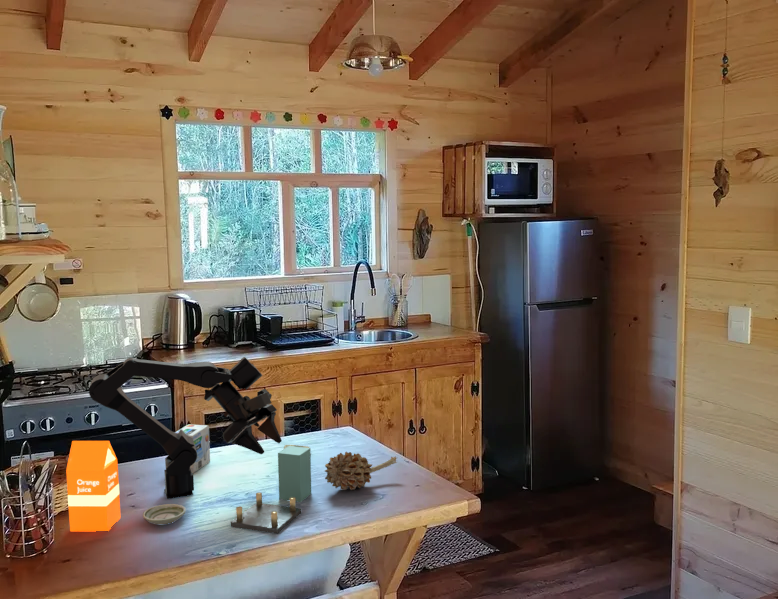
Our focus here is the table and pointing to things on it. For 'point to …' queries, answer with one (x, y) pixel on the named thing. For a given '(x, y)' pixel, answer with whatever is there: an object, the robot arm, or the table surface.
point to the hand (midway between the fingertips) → (271, 447)
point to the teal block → (294, 473)
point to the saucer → (164, 513)
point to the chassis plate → (266, 516)
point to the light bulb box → (199, 444)
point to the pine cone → (351, 470)
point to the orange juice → (92, 486)
